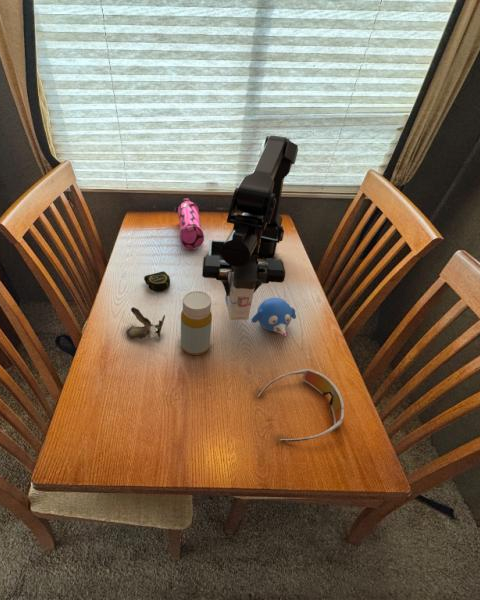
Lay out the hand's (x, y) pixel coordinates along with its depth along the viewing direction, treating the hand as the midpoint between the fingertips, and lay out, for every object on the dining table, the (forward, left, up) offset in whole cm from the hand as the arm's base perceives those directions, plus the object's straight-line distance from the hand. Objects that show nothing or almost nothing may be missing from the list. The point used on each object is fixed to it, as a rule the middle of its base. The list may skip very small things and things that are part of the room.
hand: (238, 295), depth 80 cm
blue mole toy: (-10, +3, -9) cm, 14 cm away
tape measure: (+23, -12, -9) cm, 27 cm away
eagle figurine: (+23, +7, -9) cm, 26 cm away
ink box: (0, 0, -5) cm, 5 cm away
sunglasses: (-13, +25, -9) cm, 29 cm away
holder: (+4, -26, -9) cm, 28 cm away
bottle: (+10, +10, -9) cm, 17 cm away
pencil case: (+16, -43, -9) cm, 47 cm away
